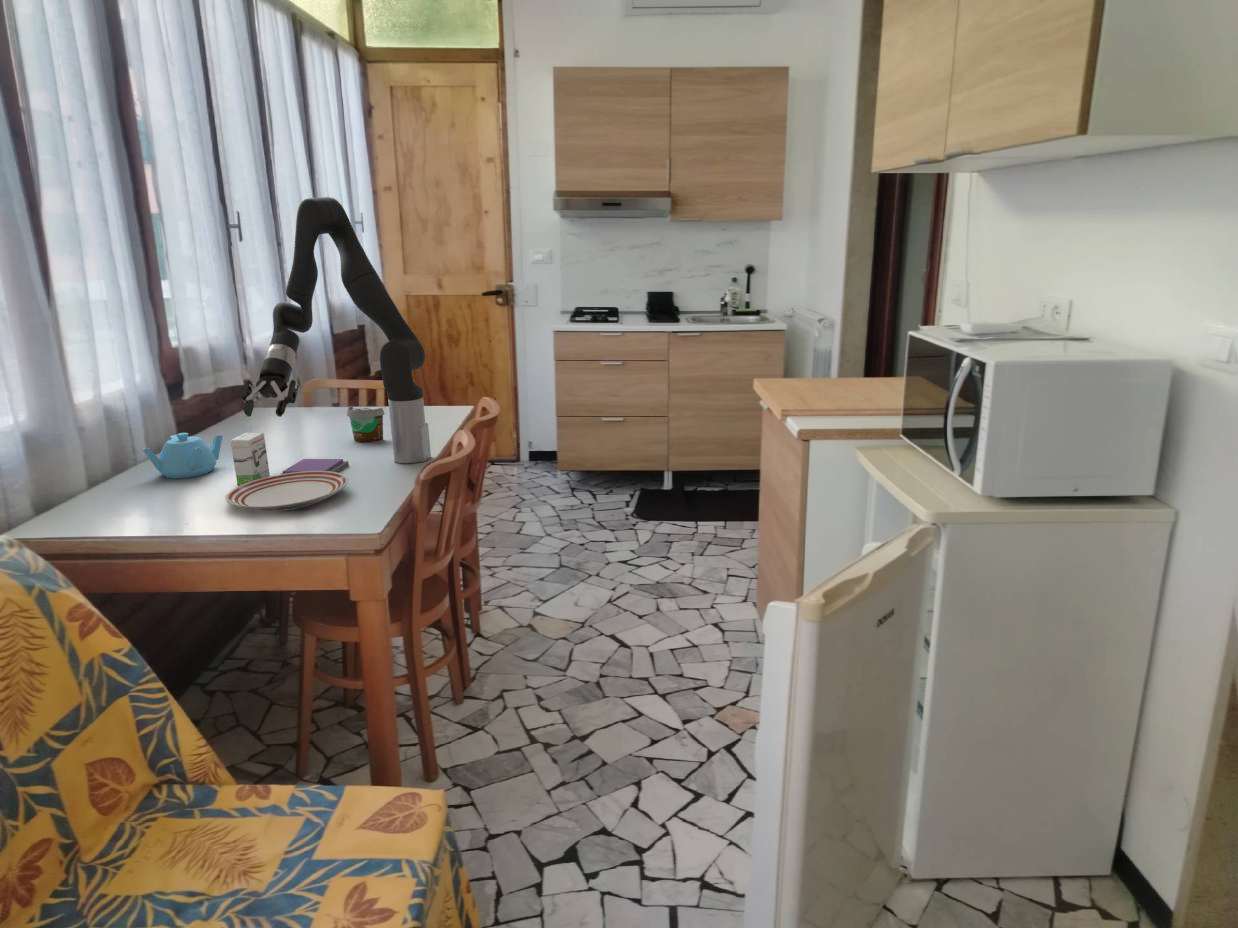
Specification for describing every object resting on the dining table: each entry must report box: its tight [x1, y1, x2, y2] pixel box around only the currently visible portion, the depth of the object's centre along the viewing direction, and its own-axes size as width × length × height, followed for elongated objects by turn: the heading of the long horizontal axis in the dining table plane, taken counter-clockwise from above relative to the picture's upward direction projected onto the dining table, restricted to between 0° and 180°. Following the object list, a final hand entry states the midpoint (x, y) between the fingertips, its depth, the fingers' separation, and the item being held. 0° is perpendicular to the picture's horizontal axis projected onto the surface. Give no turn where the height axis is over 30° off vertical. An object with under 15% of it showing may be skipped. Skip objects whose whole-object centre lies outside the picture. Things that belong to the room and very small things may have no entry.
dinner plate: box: [225, 471, 349, 512], centre depth 199 cm, size 28×27×3 cm
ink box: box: [230, 432, 271, 486], centre depth 213 cm, size 9×5×12 cm, turn 177°
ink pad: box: [280, 458, 350, 474], centre depth 220 cm, size 13×14×2 cm
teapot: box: [142, 432, 223, 479], centre depth 222 cm, size 15×15×11 cm
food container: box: [346, 405, 385, 444], centre depth 251 cm, size 12×6×10 cm, turn 68°
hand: (262, 415), depth 219 cm, fingers open, 8 cm apart
